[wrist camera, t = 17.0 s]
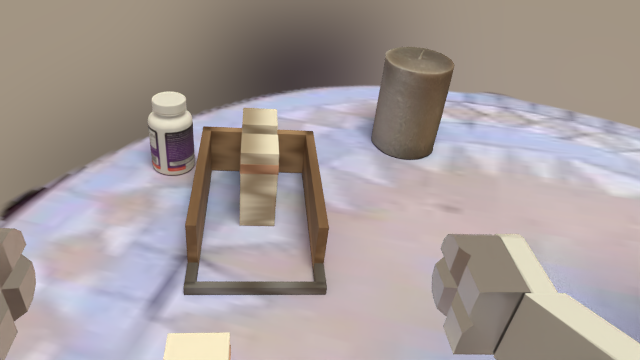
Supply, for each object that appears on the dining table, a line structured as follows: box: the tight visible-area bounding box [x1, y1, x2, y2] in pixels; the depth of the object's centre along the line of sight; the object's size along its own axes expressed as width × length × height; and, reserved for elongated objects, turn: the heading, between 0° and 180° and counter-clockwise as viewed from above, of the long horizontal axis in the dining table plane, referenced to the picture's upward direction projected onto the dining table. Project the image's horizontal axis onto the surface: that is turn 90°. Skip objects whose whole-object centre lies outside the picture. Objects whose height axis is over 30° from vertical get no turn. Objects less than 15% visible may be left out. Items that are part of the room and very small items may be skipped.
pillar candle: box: [372, 47, 454, 159], centre depth 73 cm, size 10×10×15 cm
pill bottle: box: [148, 92, 195, 175], centre depth 63 cm, size 5×5×10 cm
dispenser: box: [184, 108, 329, 295], centre depth 56 cm, size 14×22×10 cm, turn 5°
